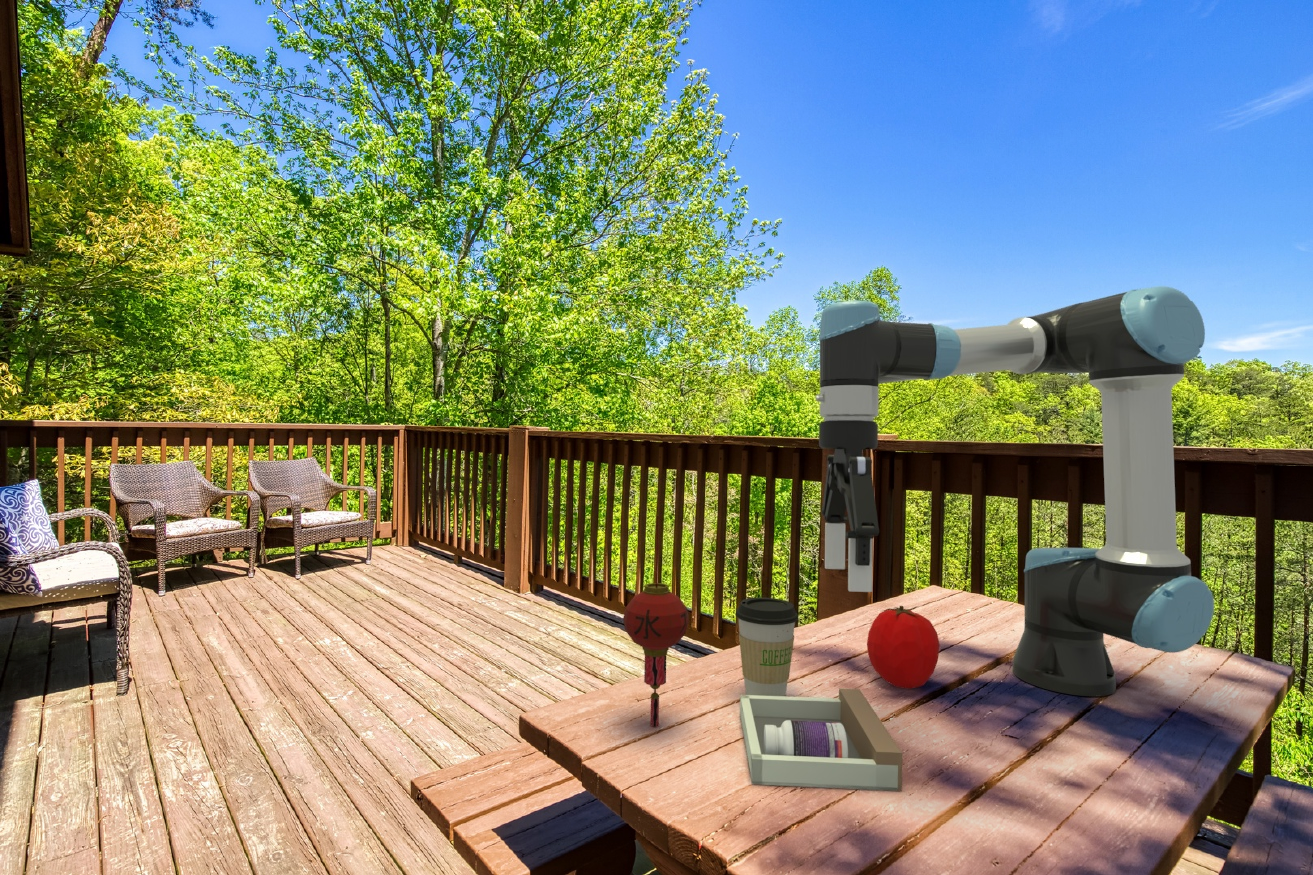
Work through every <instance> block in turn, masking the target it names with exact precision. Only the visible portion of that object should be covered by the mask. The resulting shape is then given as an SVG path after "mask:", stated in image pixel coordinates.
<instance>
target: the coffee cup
mask: <svg viewBox="0 0 1313 875" xmlns="http://www.w3.org/2000/svg"><path fill="white" fill-rule="evenodd" d="M735 617H736V618H738V627H739V628H738V630H739V631H738V638H739V649H740V660H741V668H742V676H743V680H744V681H743V683H744V690H745V691H744V692H745V695H759V696H785V697H787V696H786V695H787V688H788V681H789V679H790V672H791V665H792V657H793V650H794V643H795V642H794V641H795V635H794V632H795V625H796V622H797V621H798V620H799V616H798V613H797V611H796V609H795V605H794V604H793V603H792V602H790V601H788V600H784V599H781V598H775V597H763V596H762V597H748V598H745V599H742V600H740V601H739V605H738V608H736V610H735Z"/></svg>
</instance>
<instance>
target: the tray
mask: <svg viewBox="0 0 1313 875" xmlns="http://www.w3.org/2000/svg"><path fill="white" fill-rule="evenodd" d="M739 697H740V698H739V718H740V722H741V729H742V734H743V741H744V746H745V747H744V748H745V752H746V758H747V763H748V769H749V775H750V776H749V777H750V782H751V785H757V786H758V785H760V786H762V785H763V786H783V787H800V788H801V787H804V788H819V789H820V788H823V789H825V788H826V789H842V790H843V789H845V790H847V789H848V790H867V791H883V792H884V791H888V792H903V751H902V750H901V747H899V746H898V744H897V742H896V741H895V740H894V738H893V736H892V735H891V733H890V732H889V731H888V729H887V727H886V726H885V725H884V723H883V722H882V720H881V718H880V717H879V716H878V714H877V712H876V711H875V710H874V708H873V707H872V706H871V704H870V702H869V701H868V700H867V698H866V696H865V695H864V693H863V692H862V691H861V689H859V688H841V687H840V688H838V698H835V697H808V696H807V697H806V696H786V697H785V696H759V695H746V694H740V695H739ZM786 720H795V721H813V722H835V723H841V724H842V725H843V727H844V729H845V732H846V737H847V744H848V758H830V757H808V756H785V755H765V754H764V726H765V725H774V726H775V725H776V727H777V728H780V727H781V725H782V723H783V722H784V721H786Z"/></svg>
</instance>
